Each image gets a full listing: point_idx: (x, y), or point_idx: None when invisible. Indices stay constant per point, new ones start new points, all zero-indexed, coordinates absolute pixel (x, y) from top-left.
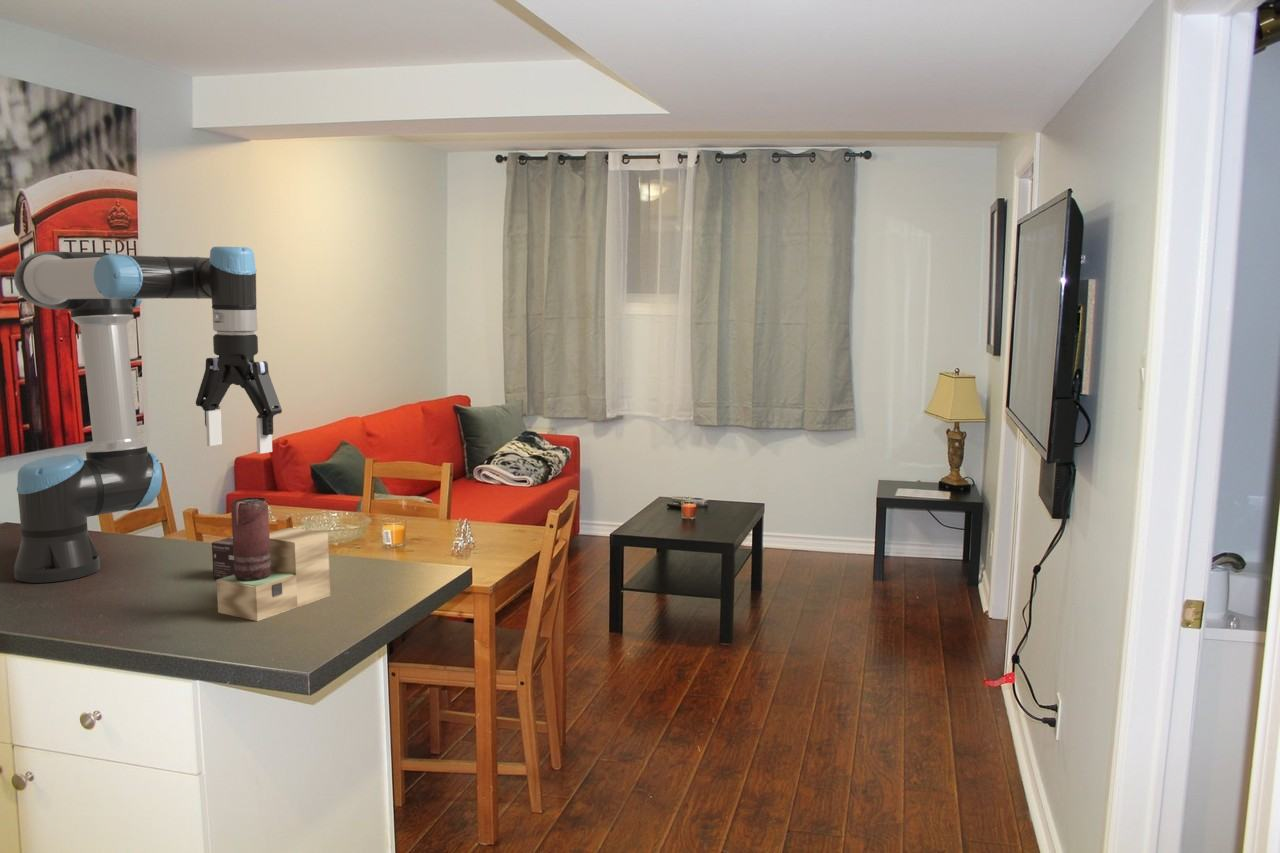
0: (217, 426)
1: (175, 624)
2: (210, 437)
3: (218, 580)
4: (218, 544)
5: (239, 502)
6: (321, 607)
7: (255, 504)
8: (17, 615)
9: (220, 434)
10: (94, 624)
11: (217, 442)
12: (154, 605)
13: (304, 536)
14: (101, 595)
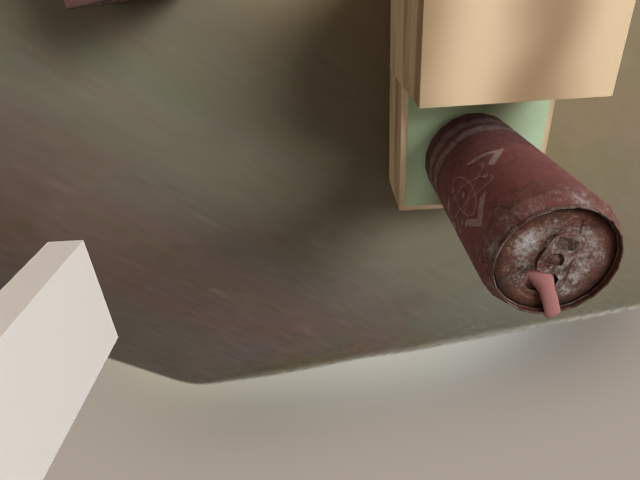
0: (2, 402)
1: (377, 258)
2: (85, 382)
3: (406, 209)
4: (98, 3)
5: (556, 310)
6: None
7: (610, 274)
8: (111, 351)
9: (43, 308)
10: (259, 319)
11: (88, 292)
12: (234, 215)
13: (591, 9)
14: (82, 232)
